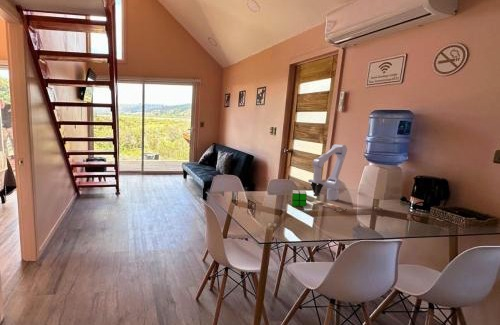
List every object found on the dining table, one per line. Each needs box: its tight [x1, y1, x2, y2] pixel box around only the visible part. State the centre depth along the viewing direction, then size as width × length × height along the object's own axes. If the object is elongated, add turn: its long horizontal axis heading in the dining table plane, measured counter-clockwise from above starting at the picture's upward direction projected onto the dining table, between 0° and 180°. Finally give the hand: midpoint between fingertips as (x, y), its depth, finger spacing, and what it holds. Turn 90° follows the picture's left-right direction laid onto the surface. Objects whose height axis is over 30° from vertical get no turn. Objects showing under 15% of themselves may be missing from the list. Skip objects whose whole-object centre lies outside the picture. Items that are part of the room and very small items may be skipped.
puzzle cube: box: [291, 189, 307, 208], centre depth 218 cm, size 10×10×10 cm
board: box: [309, 200, 348, 212], centre depth 216 cm, size 10×25×1 cm, turn 43°
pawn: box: [313, 186, 321, 197], centre depth 222 cm, size 4×4×8 cm
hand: (316, 193), depth 223 cm, fingers closed on pawn, 3 cm apart
